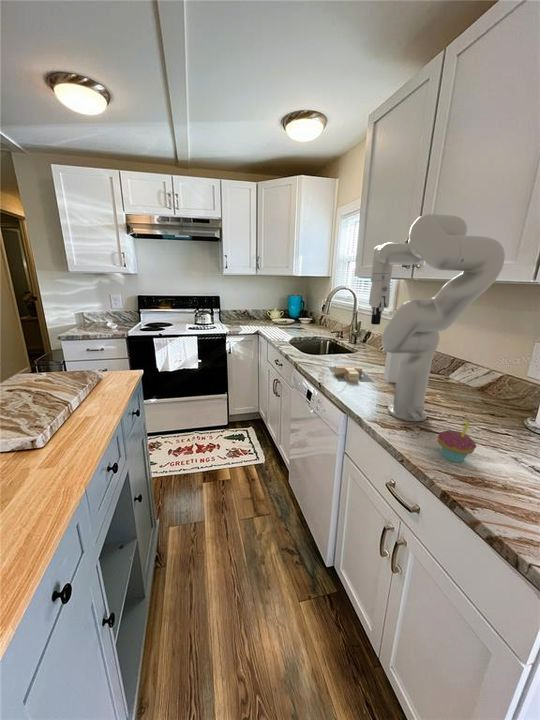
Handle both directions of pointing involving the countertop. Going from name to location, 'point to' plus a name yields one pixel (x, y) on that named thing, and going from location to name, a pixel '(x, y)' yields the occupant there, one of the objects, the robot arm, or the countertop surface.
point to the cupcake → (456, 444)
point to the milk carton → (392, 366)
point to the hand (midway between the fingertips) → (375, 324)
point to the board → (342, 379)
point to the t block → (348, 372)
